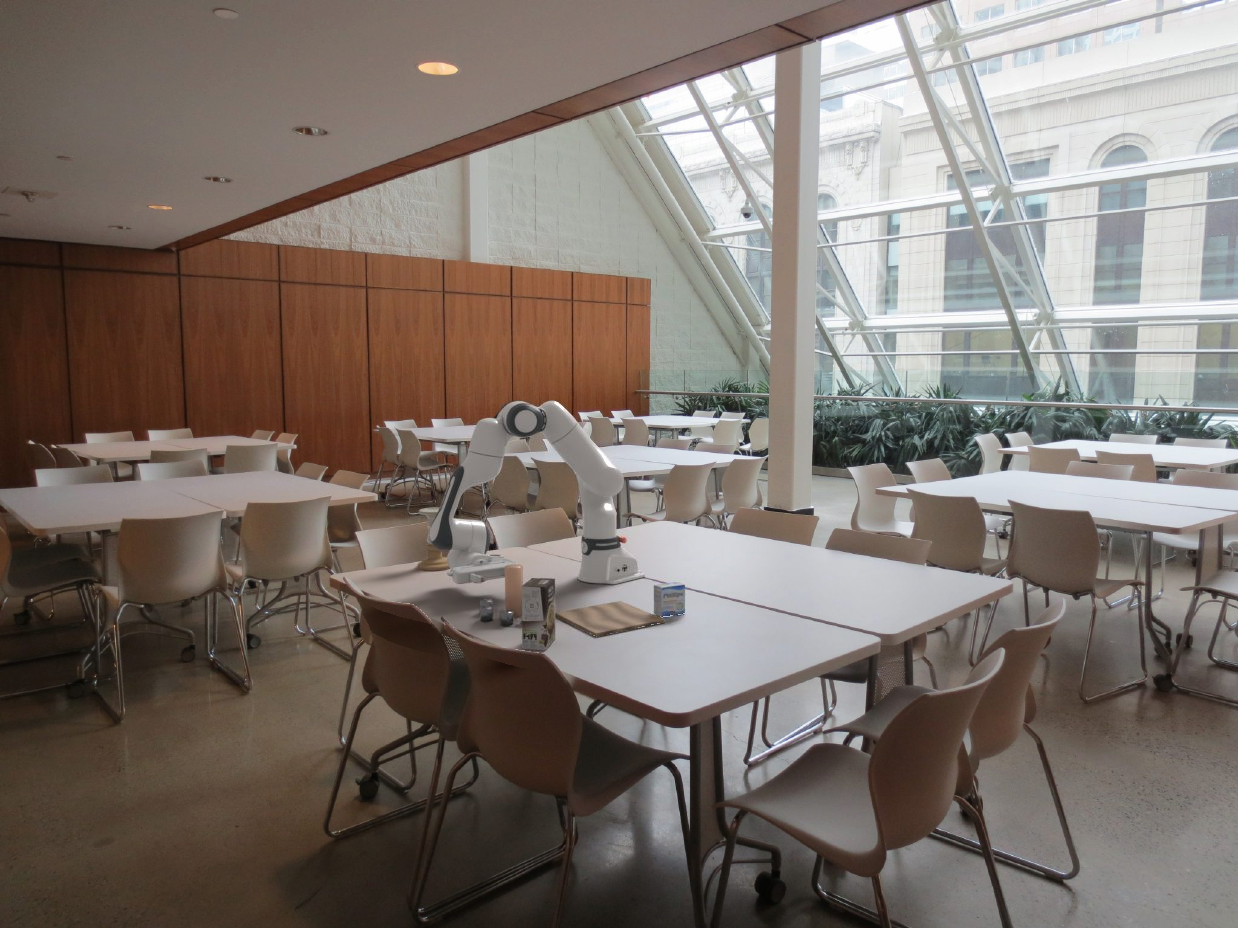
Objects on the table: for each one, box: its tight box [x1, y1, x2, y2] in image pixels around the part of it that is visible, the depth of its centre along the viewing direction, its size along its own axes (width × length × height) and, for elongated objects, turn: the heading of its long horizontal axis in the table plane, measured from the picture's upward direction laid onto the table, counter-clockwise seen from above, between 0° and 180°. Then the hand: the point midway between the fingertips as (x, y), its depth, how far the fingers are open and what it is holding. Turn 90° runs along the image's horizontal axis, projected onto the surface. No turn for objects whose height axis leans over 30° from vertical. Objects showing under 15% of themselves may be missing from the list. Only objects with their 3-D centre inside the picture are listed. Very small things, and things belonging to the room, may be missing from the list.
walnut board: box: [555, 600, 666, 637], centre depth 235 cm, size 22×22×1 cm
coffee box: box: [521, 577, 556, 651], centre depth 213 cm, size 9×6×16 cm
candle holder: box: [416, 506, 451, 572], centre depth 295 cm, size 12×12×20 cm
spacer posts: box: [479, 598, 515, 627], centre depth 238 cm, size 21×19×4 cm
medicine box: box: [653, 581, 686, 618], centre depth 239 cm, size 8×4×9 cm, turn 117°
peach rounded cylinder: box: [504, 563, 524, 619], centre depth 238 cm, size 5×5×14 cm
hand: (496, 577), depth 247 cm, fingers open, 8 cm apart
